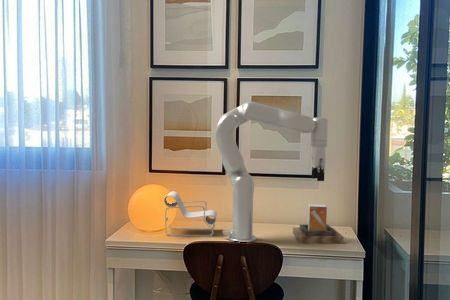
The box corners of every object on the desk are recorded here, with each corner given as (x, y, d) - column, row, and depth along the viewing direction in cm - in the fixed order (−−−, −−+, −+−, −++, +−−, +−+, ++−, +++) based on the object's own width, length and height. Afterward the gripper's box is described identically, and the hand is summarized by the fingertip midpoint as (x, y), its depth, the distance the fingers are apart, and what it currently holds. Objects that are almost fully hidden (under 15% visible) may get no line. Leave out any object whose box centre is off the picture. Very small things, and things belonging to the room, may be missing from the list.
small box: (308, 233, 208) (309, 206, 207) (307, 230, 214) (308, 203, 213) (326, 234, 207) (327, 206, 206) (324, 230, 213) (325, 204, 212)
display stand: (300, 243, 201) (300, 232, 201) (292, 233, 219) (292, 223, 219) (343, 243, 202) (343, 232, 202) (332, 233, 220) (332, 223, 220)
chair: (168, 229, 227) (168, 191, 225) (216, 229, 226) (216, 191, 225) (164, 235, 213) (164, 195, 212) (215, 236, 213) (215, 196, 212)
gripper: (306, 142, 216) (306, 177, 217) (315, 144, 199) (314, 182, 200) (322, 142, 217) (321, 177, 218) (331, 144, 199) (330, 182, 201)
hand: (318, 179), depth 209 cm, fingers open, 9 cm apart
